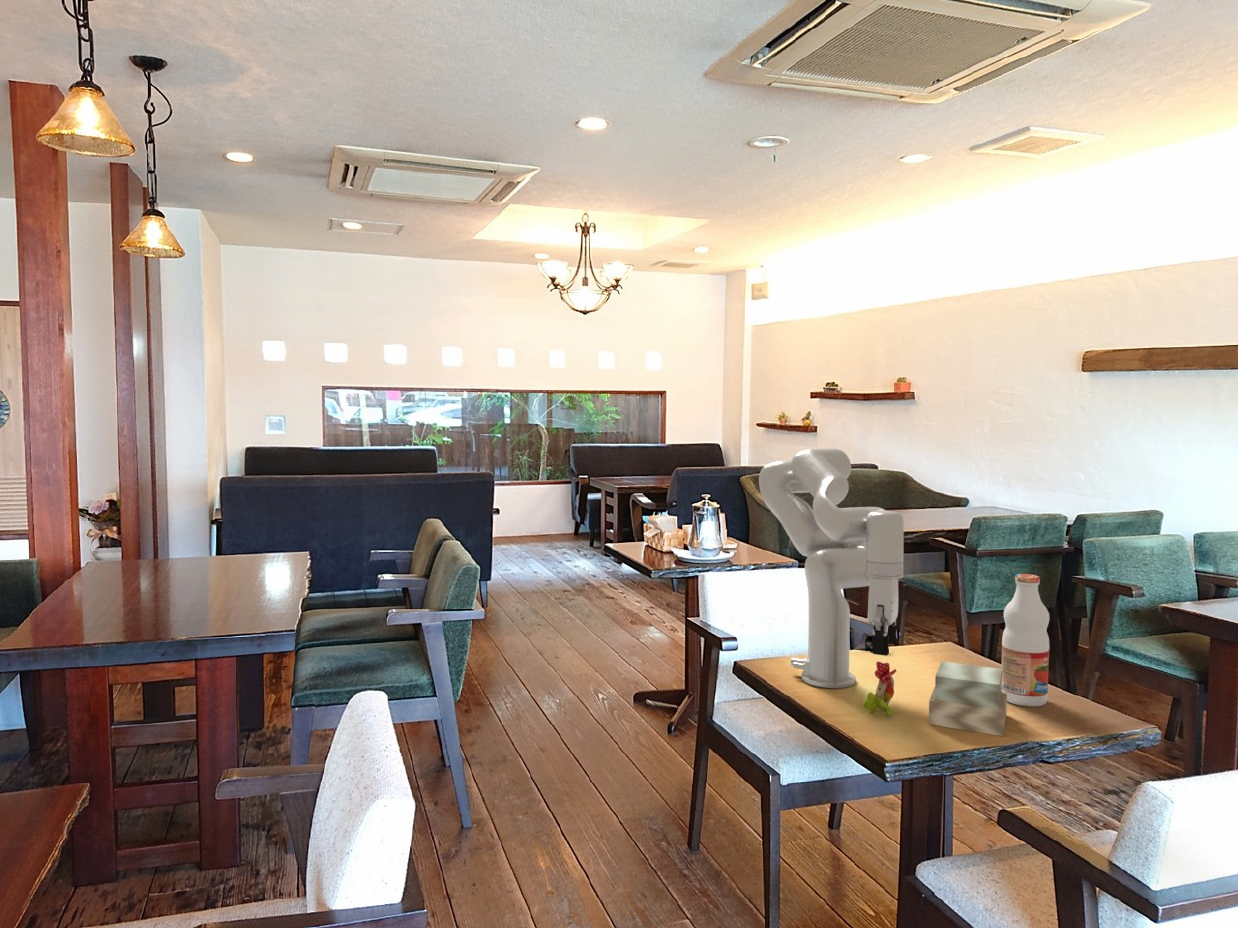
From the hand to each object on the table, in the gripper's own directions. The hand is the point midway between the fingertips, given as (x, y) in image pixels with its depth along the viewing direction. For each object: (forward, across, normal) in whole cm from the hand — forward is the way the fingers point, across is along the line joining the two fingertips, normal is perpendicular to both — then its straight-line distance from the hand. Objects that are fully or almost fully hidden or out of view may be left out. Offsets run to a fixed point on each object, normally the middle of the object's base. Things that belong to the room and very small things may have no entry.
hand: (884, 648), depth 179 cm
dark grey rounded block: (+14, -47, -11) cm, 50 cm away
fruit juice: (+14, -22, +26) cm, 37 cm away
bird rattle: (+14, -1, -1) cm, 14 cm away
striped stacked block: (+14, -4, +16) cm, 22 cm away
